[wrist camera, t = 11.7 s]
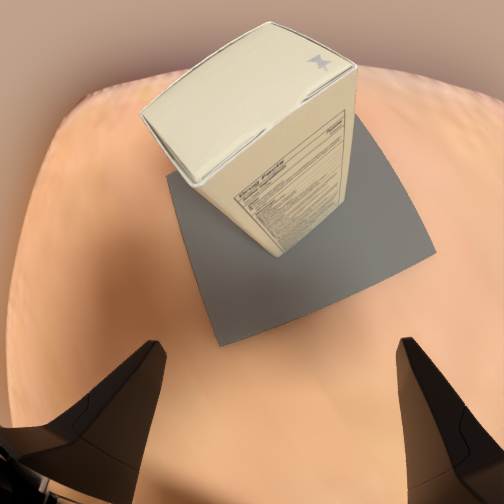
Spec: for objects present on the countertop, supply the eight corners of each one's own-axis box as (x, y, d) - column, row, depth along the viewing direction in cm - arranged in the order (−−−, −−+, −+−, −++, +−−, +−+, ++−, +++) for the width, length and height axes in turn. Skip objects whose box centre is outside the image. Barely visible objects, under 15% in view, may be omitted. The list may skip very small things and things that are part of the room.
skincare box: (304, 160, 19) (274, 14, 8) (346, 202, 18) (368, 60, 6) (234, 216, 20) (131, 110, 8) (273, 263, 18) (190, 188, 7)
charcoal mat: (432, 254, 17) (436, 252, 16) (223, 345, 19) (219, 346, 18) (343, 104, 20) (343, 98, 19) (170, 180, 23) (166, 176, 22)
